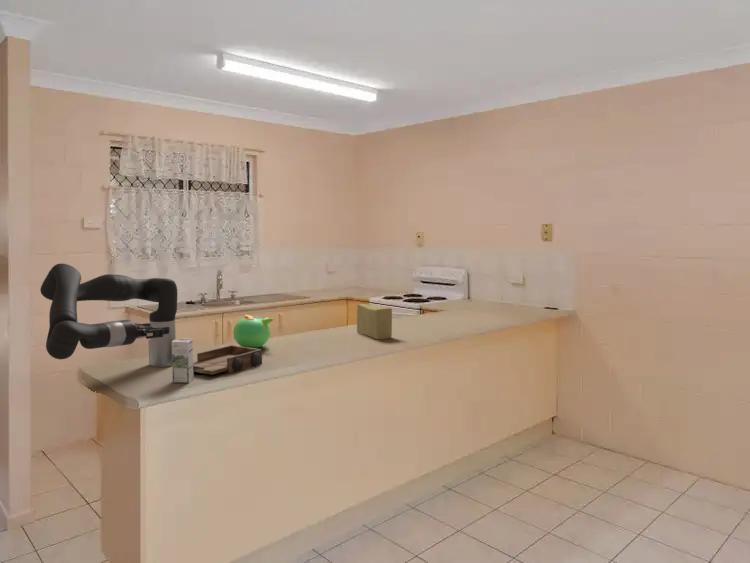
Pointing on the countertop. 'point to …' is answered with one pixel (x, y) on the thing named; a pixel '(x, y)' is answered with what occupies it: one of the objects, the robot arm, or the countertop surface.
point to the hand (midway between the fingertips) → (159, 328)
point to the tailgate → (208, 368)
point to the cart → (232, 357)
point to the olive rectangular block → (374, 321)
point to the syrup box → (182, 360)
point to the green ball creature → (252, 331)
